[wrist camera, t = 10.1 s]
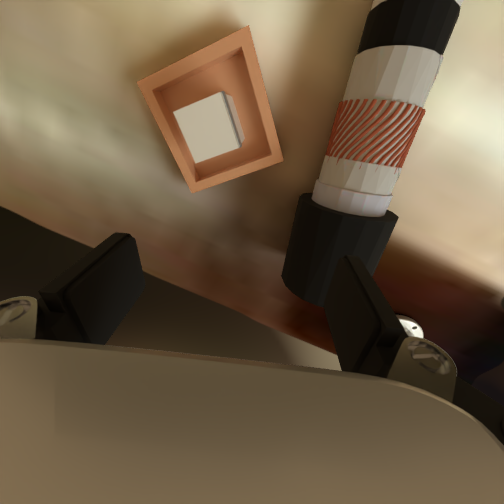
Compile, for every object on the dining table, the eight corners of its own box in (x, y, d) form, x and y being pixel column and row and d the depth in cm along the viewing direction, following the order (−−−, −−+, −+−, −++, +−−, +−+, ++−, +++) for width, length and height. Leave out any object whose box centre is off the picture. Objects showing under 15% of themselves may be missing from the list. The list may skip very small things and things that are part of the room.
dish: (282, 156, 26) (283, 161, 24) (197, 186, 28) (191, 193, 26) (250, 34, 20) (248, 25, 18) (148, 84, 23) (136, 82, 21)
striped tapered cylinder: (434, -80, 19) (642, -216, 11) (323, 259, 34) (380, 300, 26) (353, -166, 15) (600, -481, 7) (267, 266, 30) (315, 318, 22)
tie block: (246, 139, 24) (240, 148, 19) (211, 151, 25) (195, 165, 19) (232, 94, 22) (220, 89, 16) (194, 110, 23) (171, 110, 17)
